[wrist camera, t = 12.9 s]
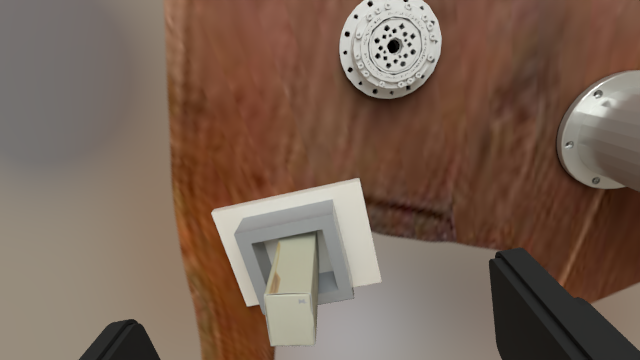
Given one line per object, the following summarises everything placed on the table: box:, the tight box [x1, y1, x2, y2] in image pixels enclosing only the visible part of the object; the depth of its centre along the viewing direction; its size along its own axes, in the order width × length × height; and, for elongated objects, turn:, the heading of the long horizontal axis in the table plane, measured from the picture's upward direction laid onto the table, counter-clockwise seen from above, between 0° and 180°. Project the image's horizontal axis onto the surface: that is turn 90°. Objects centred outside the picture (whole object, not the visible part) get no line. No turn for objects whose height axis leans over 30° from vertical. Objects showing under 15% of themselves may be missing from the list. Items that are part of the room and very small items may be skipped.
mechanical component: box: [339, 0, 442, 99], centre depth 33 cm, size 10×4×10 cm
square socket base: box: [211, 178, 382, 315], centre depth 40 cm, size 18×14×5 cm
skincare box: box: [264, 230, 319, 346], centre depth 36 cm, size 6×4×12 cm
